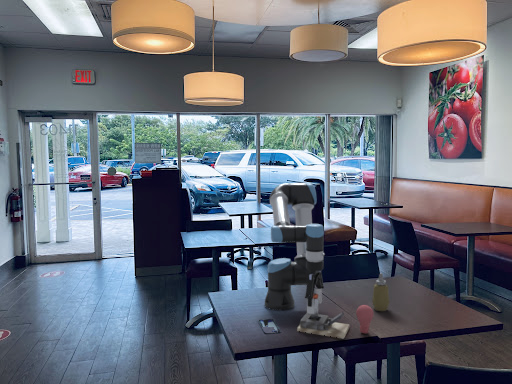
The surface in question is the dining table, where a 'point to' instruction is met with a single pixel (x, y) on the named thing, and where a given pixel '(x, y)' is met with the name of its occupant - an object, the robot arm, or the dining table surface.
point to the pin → (315, 308)
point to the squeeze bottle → (380, 294)
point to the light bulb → (364, 317)
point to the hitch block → (322, 326)
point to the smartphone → (269, 324)
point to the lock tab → (335, 319)
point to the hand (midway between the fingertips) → (314, 308)
